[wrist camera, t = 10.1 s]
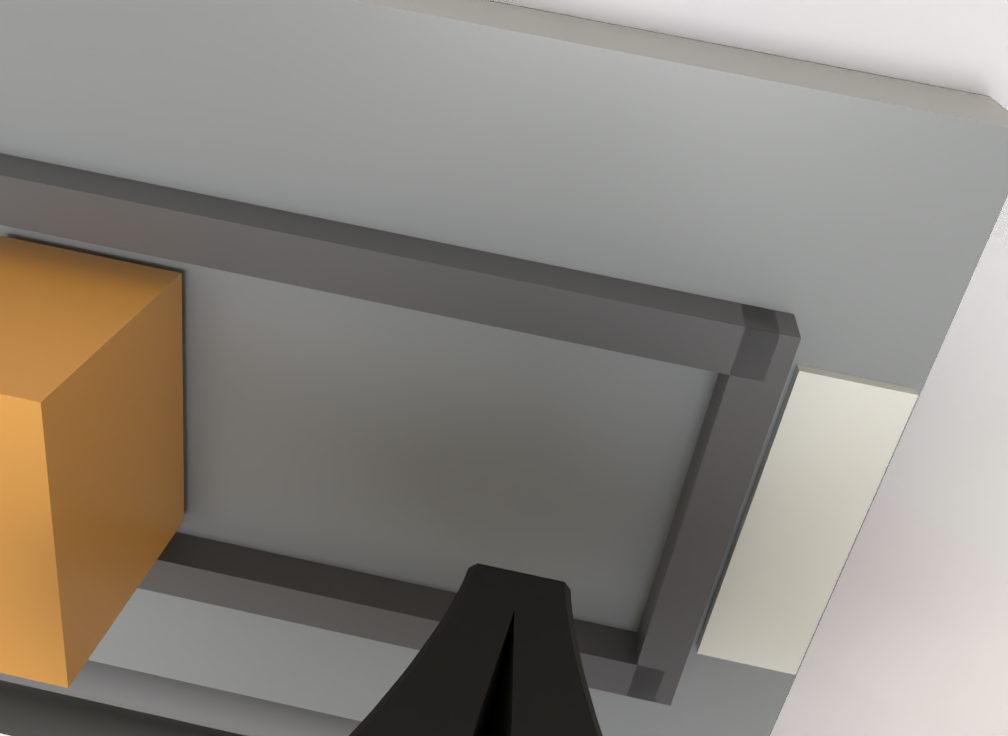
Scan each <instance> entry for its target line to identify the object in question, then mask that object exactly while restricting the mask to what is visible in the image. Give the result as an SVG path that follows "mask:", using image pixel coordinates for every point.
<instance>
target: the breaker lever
mask: <svg viewBox="0 0 1008 736" xmlns="http://www.w3.org/2000/svg"><path fill="white" fill-rule="evenodd" d="M183 521H184V462H183V357H182V273H178V272H174V271H169V270H164V269H159V268H154V267H149V266H145V265H140V264H135V263H130V262H125V261H120V260H116V259H111V258H106V257H101V256H96V255H91V254H87V253H82V252H77V251H72V250H67V249H62V248H57V247H53V246H48V245H43V244H38V243H33V242H28V241H24V240H19V239H14V238H9V237H4V236H0V673H4V674H8V675H13V676H17V677H22V678H26V679H30V680H35V681H39V682H44V683H48V684H52V685H57V686H61V687H66V688H69V686H70V685H71V683H72V682H73V680H74V679H75V678H76V676H77V675H78V673H79V672H80V670H81V669H82V667H83V666H84V665H85V663H86V662H87V660H88V659H89V657H90V656H91V654H92V653H93V652H94V650H95V649H96V647H97V646H98V644H99V643H100V641H101V640H102V639H103V637H104V636H105V634H106V633H107V631H108V630H109V628H110V627H111V625H112V624H113V623H114V621H115V620H116V618H117V617H118V615H119V614H120V612H121V611H122V610H123V608H124V607H125V605H126V604H127V602H128V601H129V599H130V598H131V597H132V595H133V594H134V592H135V591H136V589H137V588H138V586H139V585H140V584H141V582H142V581H143V579H144V578H145V576H146V575H147V573H148V572H149V570H150V569H151V568H152V566H153V565H154V563H155V562H156V560H157V559H158V557H159V556H160V555H161V553H162V552H163V550H164V549H165V547H166V546H167V544H168V543H169V542H170V540H171V539H172V537H173V536H174V534H175V533H176V531H177V530H178V528H179V527H180V526H181V524H182V523H183Z"/></svg>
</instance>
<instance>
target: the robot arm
mask: <svg viewBox="0 0 1008 736" xmlns="http://www.w3.org/2000/svg"><path fill="white" fill-rule="evenodd" d="M349 736H603V735H602V732H601V729H600V726H599V723H598V719H597V716H596V713H595V709H594V706H593V702H592V699H591V695H590V692H589V688H588V685H587V681H586V678H585V674H584V669H583V665H582V661H581V657H580V652H579V647H578V643H577V638H576V632H575V626H574V620H573V613H572V603H571V590H570V588H569V587H568V586H567V584H566V583H565V582H563V581H559V580H554V579H549V578H545V577H540V576H535V575H531V574H526V573H521V572H517V571H512V570H507V569H503V568H498V567H493V566H489V565H484V564H479V563H477V564H475V565H473V566H471V567H469V568H468V570H467V573H466V575H465V578H464V580H463V582H462V584H461V586H460V588H459V590H458V592H457V594H456V596H455V598H454V599H453V601H452V603H451V605H450V606H449V608H448V610H447V611H446V613H445V614H444V616H443V618H442V619H441V621H440V622H439V624H438V625H437V627H436V628H435V630H434V631H433V633H432V634H431V636H430V637H429V638H428V640H427V641H426V643H425V644H424V645H423V647H422V648H421V649H420V651H419V652H418V654H417V655H416V656H415V658H414V659H413V661H412V662H411V663H410V665H409V666H408V667H407V669H406V670H405V671H404V672H403V674H402V675H401V676H400V677H399V678H398V680H397V681H396V682H395V683H394V684H393V686H392V687H391V688H390V689H389V690H388V692H387V693H386V694H385V695H384V697H383V698H382V699H381V700H380V701H379V703H378V704H377V705H376V706H375V707H374V709H373V710H372V711H371V712H370V713H369V714H368V715H367V716H366V717H365V719H364V720H363V721H362V722H361V723H360V724H359V725H358V726H357V727H356V728H355V729H354V731H353V732H352V733H351V734H350V735H349Z"/></svg>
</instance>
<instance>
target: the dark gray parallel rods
mask: <svg viewBox="0 0 1008 736" xmlns="http://www.w3.org/2000/svg"><path fill="white" fill-rule="evenodd" d="M361 722H362V721H357V720H353V719H348V718H344V717H339V716H335V715H331V714H326V713H322V712H317V711H313V710H308V709H304V708H299V707H295V706H291V705H286V704H282V703H277V702H273V701H268V700H264V699H259V698H255V697H250V696H246V695H242V694H237V693H233V692H228V691H224V690H219V689H215V688H210V687H206V686H202V685H197V684H193V683H188V682H184V681H179V680H175V679H170V678H166V677H161V676H157V675H153V674H148V673H144V672H139V671H135V670H130V669H126V668H121V667H117V666H113V665H108V664H104V663H99V662H95V661H90V660H87V662H86V663H85V665H84V666H83V667H82V669H81V670H80V672H79V673H78V675H77V676H76V678H75V679H74V680H73V682H72V683H71V685H70V686H69V688H66V687H61V686H57V685H52V684H48V683H44V682H39V681H35V680H30V679H26V678H22V677H17V676H13V675H8V674H4V673H0V733H2V734H7V735H11V736H349V735H350V734H351V733H352V732H353V731H354V729H355V728H356V727H357V726H358V725H359V724H360V723H361Z"/></svg>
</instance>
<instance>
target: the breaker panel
mask: <svg viewBox="0 0 1008 736" xmlns="http://www.w3.org/2000/svg"><path fill="white" fill-rule="evenodd" d="M1007 195H1008V111H1007V110H1006V109H1005V108H1004V107H1002V106H1001V105H1000V104H998V103H997V102H996V101H994V100H993V99H992V98H991V97H989V96H984V95H979V94H974V93H968V92H963V91H958V90H953V89H947V88H942V87H937V86H932V85H927V84H921V83H916V82H911V81H906V80H901V79H895V78H890V77H885V76H880V75H875V74H869V73H864V72H859V71H854V70H848V69H843V68H838V67H833V66H828V65H822V64H817V63H812V62H807V61H802V60H796V59H791V58H786V57H781V56H776V55H770V54H765V53H760V52H755V51H749V50H744V49H739V48H734V47H729V46H723V45H718V44H713V43H708V42H703V41H697V40H692V39H687V38H682V37H677V36H671V35H666V34H661V33H656V32H650V31H645V30H640V29H635V28H630V27H624V26H619V25H614V24H609V23H604V22H598V21H593V20H588V19H583V18H578V17H572V16H567V15H562V14H557V13H551V12H546V11H541V10H536V9H531V8H525V7H520V6H515V5H510V4H505V3H499V2H494V1H489V0H0V236H4V237H9V238H14V239H19V240H24V241H28V242H33V243H38V244H43V245H48V246H53V247H57V248H62V249H67V250H72V251H77V252H82V253H87V254H91V255H96V256H101V257H106V258H111V259H116V260H120V261H125V262H130V263H135V264H140V265H145V266H149V267H154V268H159V269H164V270H169V271H174V272H178V273H182V357H183V462H184V521H183V523H182V524H181V526H180V527H179V528H178V530H177V531H176V533H175V534H174V536H173V537H172V539H171V540H170V542H169V543H168V544H167V546H166V547H165V549H164V550H163V552H162V553H161V555H160V556H159V557H158V559H157V560H156V562H155V563H154V565H153V566H152V568H151V569H150V570H149V572H148V573H147V575H146V576H145V578H144V579H143V581H142V582H141V584H140V585H139V586H138V588H137V589H136V591H135V592H134V594H133V595H132V597H131V598H130V599H129V601H128V602H127V604H126V605H125V607H124V608H123V610H122V611H121V612H120V614H119V615H118V617H117V618H116V620H115V621H114V623H113V624H112V625H111V627H110V628H109V630H108V631H107V633H106V634H105V636H104V637H103V639H102V640H101V641H100V643H99V644H98V646H97V647H96V649H95V650H94V652H93V653H92V654H91V656H90V657H89V659H88V660H90V661H95V662H99V663H104V664H108V665H113V666H117V667H121V668H126V669H130V670H135V671H139V672H144V673H148V674H153V675H157V676H161V677H166V678H170V679H175V680H179V681H184V682H188V683H193V684H197V685H202V686H206V687H210V688H215V689H219V690H224V691H228V692H233V693H237V694H242V695H246V696H250V697H255V698H259V699H264V700H268V701H273V702H277V703H282V704H286V705H291V706H295V707H299V708H304V709H308V710H313V711H317V712H322V713H326V714H331V715H335V716H339V717H344V718H348V719H353V720H357V721H363V720H364V719H365V717H366V716H367V715H368V714H369V713H370V712H371V711H372V710H373V709H374V707H375V706H376V705H377V704H378V703H379V701H380V700H381V699H382V698H383V697H384V695H385V694H386V693H387V692H388V690H389V689H390V688H391V687H392V686H393V684H394V683H395V682H396V681H397V680H398V678H399V677H400V676H401V675H402V674H403V672H404V671H405V670H406V669H407V667H408V666H409V665H410V663H411V662H412V661H413V659H414V658H415V656H416V655H417V654H418V652H419V651H420V649H421V648H422V647H423V645H424V644H425V643H426V641H427V640H428V638H429V637H430V636H431V634H432V633H433V631H434V630H435V628H436V627H437V625H438V624H439V622H440V621H441V619H442V618H443V616H444V614H445V613H446V611H447V610H448V608H449V606H450V605H451V603H452V601H453V599H454V598H455V596H456V594H457V592H458V590H459V588H460V586H461V584H462V582H463V580H464V578H465V575H466V573H467V570H468V568H469V567H471V566H473V565H475V564H477V563H479V564H484V565H489V566H493V567H498V568H503V569H507V570H512V571H517V572H521V573H526V574H531V575H535V576H540V577H545V578H549V579H554V580H559V581H563V582H565V583H566V584H567V586H568V587H569V588H570V590H571V603H572V613H573V620H574V626H575V632H576V638H577V643H578V647H579V652H580V657H581V661H582V665H583V669H584V674H585V678H586V681H587V685H588V688H589V692H590V695H591V699H592V702H593V706H594V709H595V713H596V716H597V719H598V723H599V726H600V729H601V732H602V735H603V736H770V734H771V731H772V729H773V727H774V725H775V722H776V720H777V718H778V716H779V713H780V711H781V709H782V706H783V704H784V702H785V700H786V697H787V695H788V693H789V691H790V688H791V686H792V684H793V681H794V679H795V677H796V675H797V672H798V670H799V668H800V666H801V663H802V661H803V659H804V656H805V654H806V652H807V650H808V647H809V645H810V643H811V641H812V638H813V636H814V634H815V632H816V629H817V627H818V625H819V622H820V620H821V618H822V616H823V613H824V611H825V609H826V607H827V604H828V602H829V600H830V597H831V595H832V593H833V591H834V588H835V586H836V584H837V582H838V579H839V577H840V575H841V572H842V570H843V568H844V566H845V563H846V561H847V559H848V557H849V554H850V552H851V550H852V547H853V545H854V543H855V541H856V538H857V536H858V534H859V532H860V529H861V527H862V525H863V522H864V520H865V518H866V516H867V513H868V511H869V509H870V507H871V504H872V502H873V500H874V498H875V495H876V493H877V491H878V488H879V486H880V484H881V482H882V479H883V477H884V475H885V473H886V470H887V468H888V466H889V463H890V461H891V459H892V457H893V454H894V452H895V450H896V448H897V445H898V443H899V441H900V438H901V436H902V434H903V432H904V429H905V427H906V425H907V423H908V420H909V418H910V416H911V413H912V411H913V409H914V407H915V404H916V402H917V400H918V398H919V395H920V393H921V391H922V389H923V386H924V384H925V382H926V379H927V377H928V375H929V373H930V370H931V368H932V366H933V364H934V361H935V359H936V357H937V354H938V352H939V350H940V348H941V345H942V343H943V341H944V339H945V336H946V334H947V332H948V329H949V327H950V325H951V323H952V320H953V318H954V316H955V314H956V311H957V309H958V307H959V304H960V302H961V300H962V298H963V295H964V293H965V291H966V289H967V286H968V284H969V282H970V280H971V277H972V275H973V273H974V270H975V268H976V266H977V264H978V261H979V259H980V257H981V255H982V252H983V250H984V248H985V245H986V243H987V241H988V239H989V236H990V234H991V232H992V230H993V227H994V225H995V223H996V220H997V218H998V216H999V214H1000V211H1001V209H1002V207H1003V205H1004V202H1005V200H1006V198H1007Z"/></svg>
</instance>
